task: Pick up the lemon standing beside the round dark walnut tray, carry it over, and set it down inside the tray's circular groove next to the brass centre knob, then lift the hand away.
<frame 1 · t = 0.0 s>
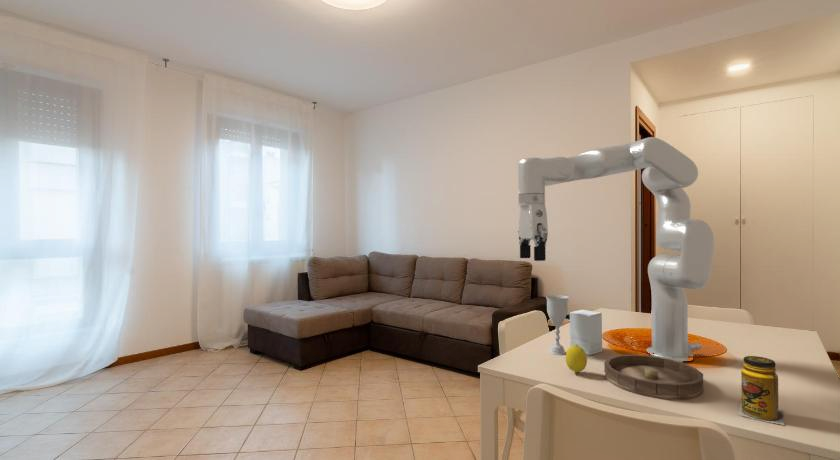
hand: (532, 259, 117), 31 cm above the table, tool pointing down, fingers open, 9 cm apart
groove tray: (651, 381, 105), on the table
condiment: (760, 414, 86), on the table
supplement box: (586, 351, 131), on the table
lemon: (576, 373, 111), on the table
chalice: (557, 353, 129), on the table
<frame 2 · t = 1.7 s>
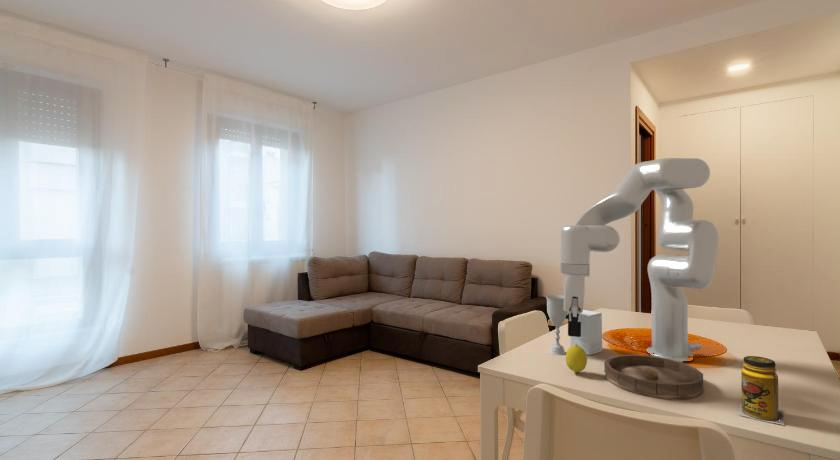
hand: (574, 331, 111), 12 cm above the table, tool pointing down, fingers open, 9 cm apart
nothing on the table moved.
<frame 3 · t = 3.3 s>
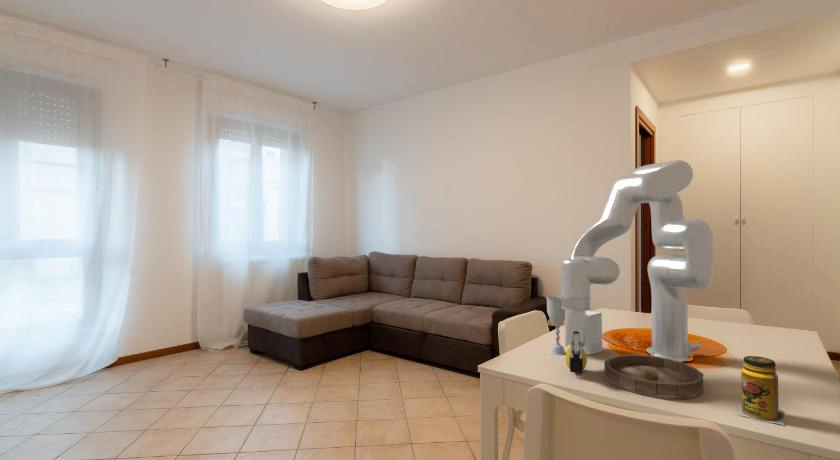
hand: (576, 367, 111), 2 cm above the table, tool pointing down, fingers closed on lemon, 5 cm apart
lemon: (576, 373, 111), on the table, touching gripper
everything else where it was.
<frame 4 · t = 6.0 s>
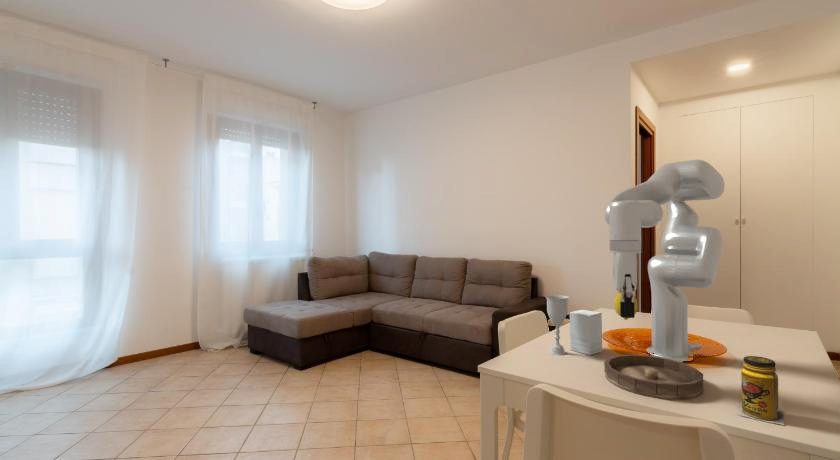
hand: (625, 314, 107), 17 cm above the table, tool pointing down, fingers closed on lemon, 5 cm apart
lemon: (625, 320, 107), point 15 cm above the table, touching gripper
everything else where it was.
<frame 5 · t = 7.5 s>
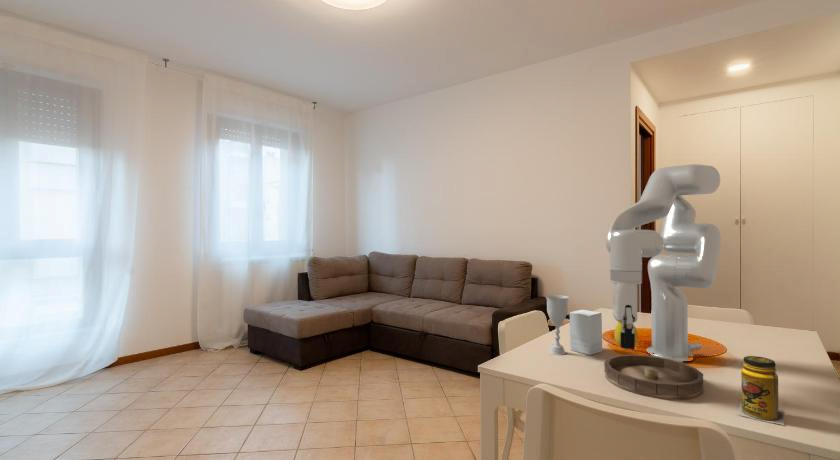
hand: (625, 344, 106), 9 cm above the table, tool pointing down, fingers closed on lemon, 5 cm apart
lemon: (625, 350, 106), point 7 cm above the table, touching gripper
everything else where it was.
when the fingers open (4 cm above the table, at t = 8.9 s): lemon drops 1 cm, resting on groove tray.
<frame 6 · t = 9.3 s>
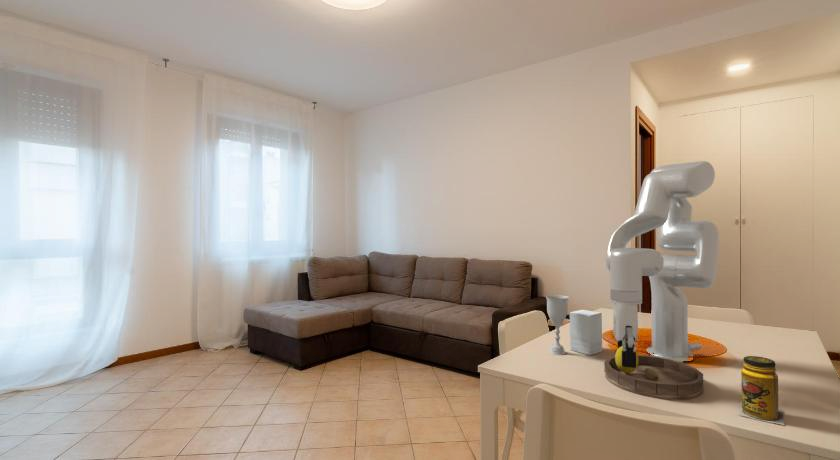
hand: (626, 360, 107), 5 cm above the table, tool pointing down, fingers open, 9 cm apart
lemon: (626, 375, 107), point 1 cm above the table, touching groove tray
everything else where it was.
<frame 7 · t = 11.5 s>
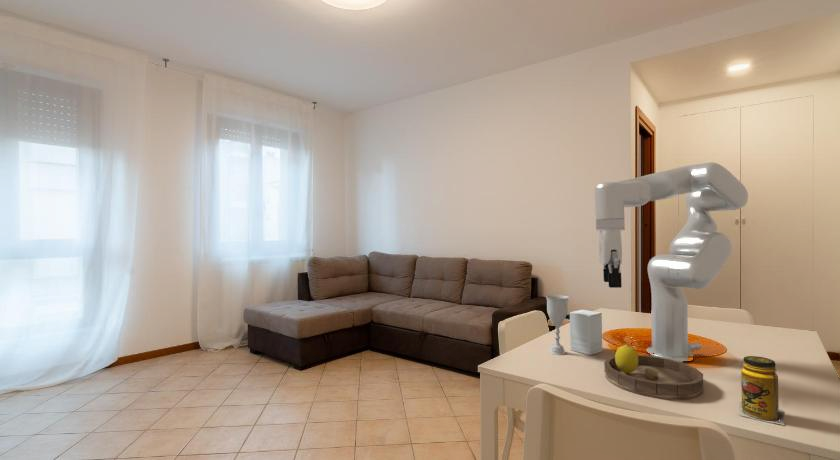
hand: (612, 284, 116), 24 cm above the table, tool pointing down, fingers open, 9 cm apart
nothing on the table moved.
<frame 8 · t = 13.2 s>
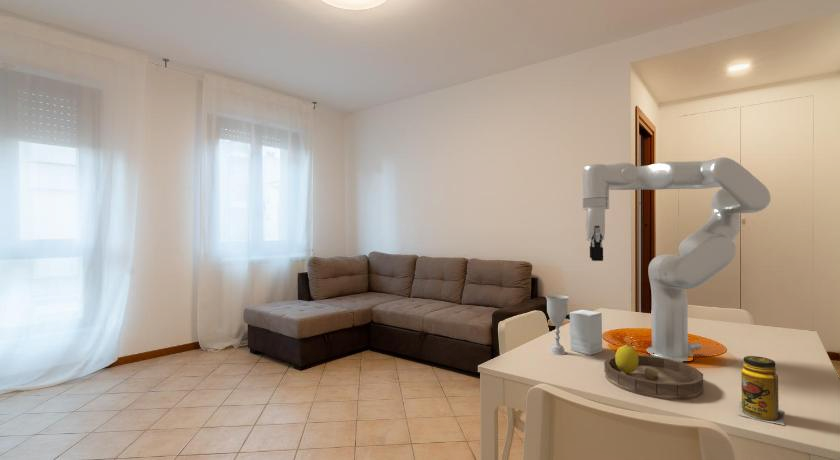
hand: (596, 259, 125), 30 cm above the table, tool pointing down, fingers open, 9 cm apart
nothing on the table moved.
at the end: lemon inside the target area on the groove tray (5.8 cm from its centre), point 0.8 cm above the groove tray's base; lemon touching groove tray; the gripper is holding nothing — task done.
